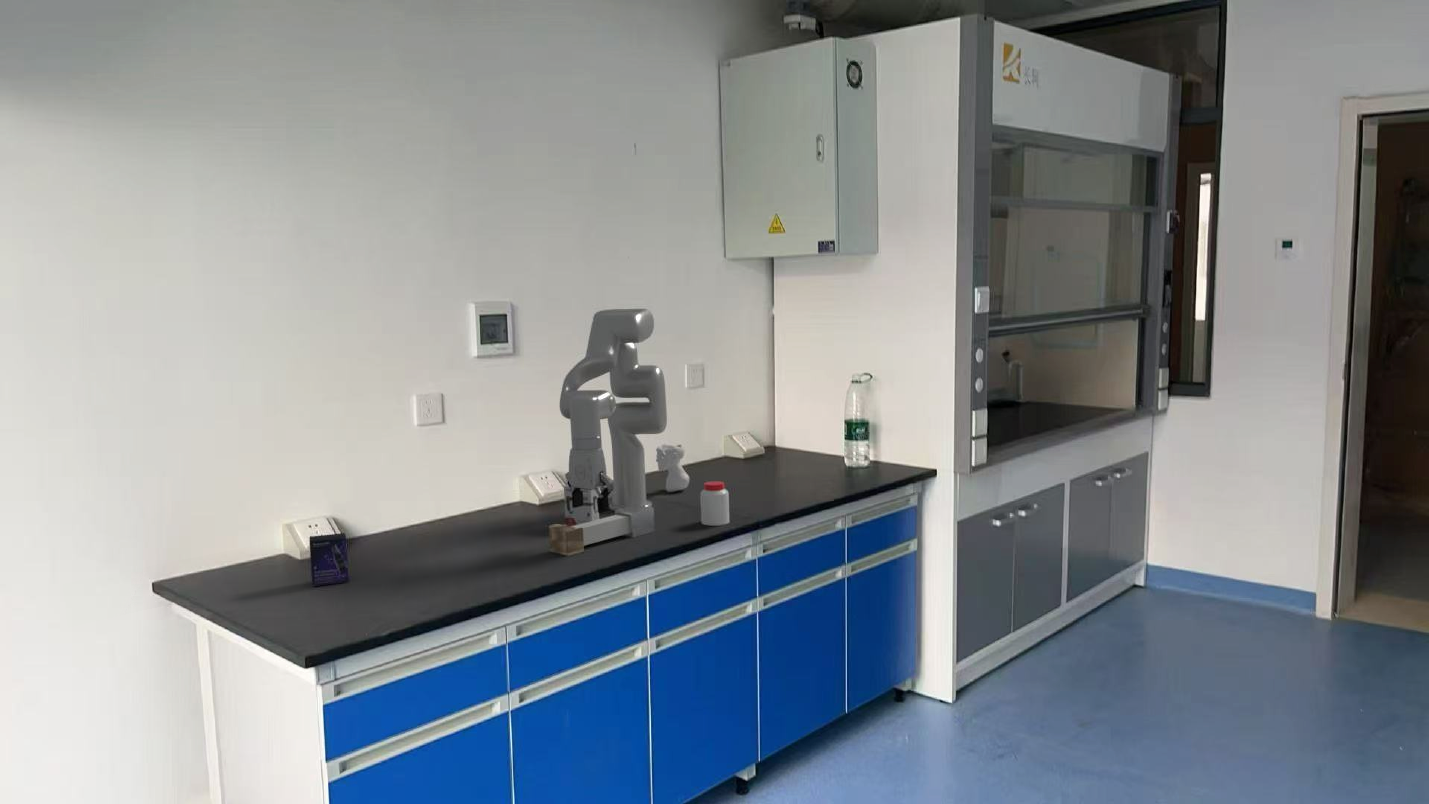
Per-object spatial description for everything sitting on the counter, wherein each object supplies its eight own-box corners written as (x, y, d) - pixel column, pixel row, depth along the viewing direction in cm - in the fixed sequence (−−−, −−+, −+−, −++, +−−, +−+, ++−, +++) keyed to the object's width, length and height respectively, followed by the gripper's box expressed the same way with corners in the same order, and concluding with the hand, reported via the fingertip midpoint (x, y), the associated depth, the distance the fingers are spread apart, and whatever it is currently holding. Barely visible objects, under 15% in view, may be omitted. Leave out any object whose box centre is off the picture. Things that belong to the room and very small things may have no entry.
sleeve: (615, 534, 268) (614, 510, 268) (637, 528, 274) (636, 504, 274) (633, 537, 264) (631, 513, 263) (654, 531, 270) (653, 507, 269)
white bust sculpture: (695, 491, 321) (693, 445, 320) (665, 496, 315) (663, 449, 313) (679, 487, 329) (677, 441, 328) (649, 492, 323) (647, 445, 321)
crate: (550, 551, 252) (549, 525, 252) (565, 547, 256) (564, 521, 255) (568, 555, 248) (567, 529, 247) (584, 551, 251) (582, 525, 251)
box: (312, 587, 228) (308, 541, 227) (311, 581, 233) (308, 535, 232) (349, 582, 231) (346, 536, 230) (348, 576, 236) (344, 531, 235)
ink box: (564, 527, 278) (562, 485, 277) (572, 523, 283) (570, 482, 281) (592, 529, 275) (590, 486, 274) (600, 524, 280) (598, 483, 278)
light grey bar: (560, 547, 253) (559, 529, 252) (624, 529, 269) (623, 512, 268) (570, 549, 250) (569, 531, 249) (635, 531, 266) (634, 514, 266)
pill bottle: (726, 525, 273) (725, 486, 272) (698, 525, 275) (697, 485, 274) (731, 519, 281) (730, 480, 280) (704, 519, 282) (703, 480, 281)
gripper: (553, 442, 258) (557, 507, 260) (598, 449, 246) (602, 517, 249) (575, 438, 263) (579, 501, 266) (620, 444, 252) (624, 511, 254)
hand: (590, 509), depth 257 cm, fingers open, 9 cm apart
